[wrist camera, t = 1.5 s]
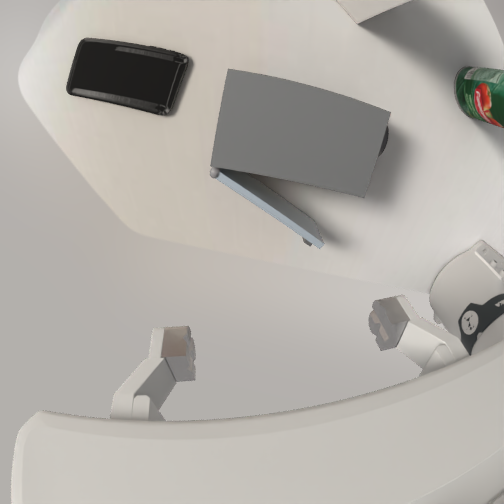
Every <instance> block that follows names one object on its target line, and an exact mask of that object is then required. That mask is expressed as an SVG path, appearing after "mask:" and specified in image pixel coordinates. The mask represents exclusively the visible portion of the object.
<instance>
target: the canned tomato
mask: <svg viewBox="0 0 504 504" xmlns="http://www.w3.org/2000/svg"><path fill="white" fill-rule="evenodd" d="M454 92H455V97H456V100H457V103H458V105H459V107H460V109H461V110H462V111H463V113H465V114H466V115H467V116H469V117H471V118H475V119H478V120H481V121H484V122H487V123H490V124H493V125H496V126H499V127H502V128H504V70H500V69H499V70H498V69H490V68H481V67H480V68H479V67H470V66H468V67H464V68H462V69H461V70H460V71H459V72H458V73H457V75H456V78H455V82H454Z"/></svg>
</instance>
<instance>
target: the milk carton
mask: <svg viewBox="0 0 504 504" xmlns="http://www.w3.org/2000/svg"><path fill="white" fill-rule="evenodd" d="M410 1H413V0H337V2H338V3H339V4H340V5H341V6H342V7H343V8H344V9H345V10H346V12H347V13H348V14H349V15H350V16H351V17H352V19H353V20H354V21H355V22H356V23H357V24H359V23H361V22H363V21H365V20H367V19H370V18H372V17H374V16H376V15H378V14H381V13H383V12H385V11H388V10H390V9H392V8H395V7H397V6H400V5H402V4H405V3H407V2H410Z"/></svg>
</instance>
